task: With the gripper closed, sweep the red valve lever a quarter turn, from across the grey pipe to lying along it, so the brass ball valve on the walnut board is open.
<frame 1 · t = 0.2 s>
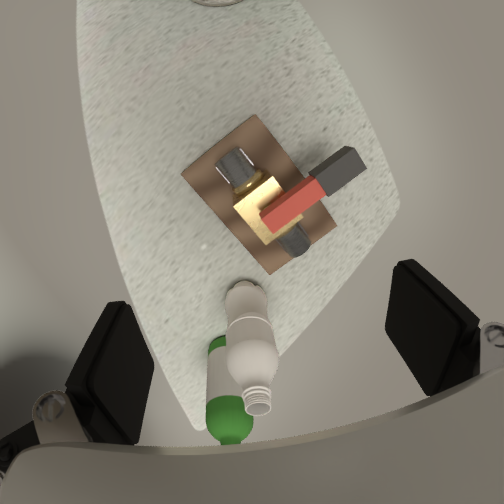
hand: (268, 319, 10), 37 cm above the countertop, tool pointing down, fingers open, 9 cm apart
wine bottle: (227, 347, 58), on the countertop
ball valve: (266, 205, 41), on the mounting board, point 5 cm above the countertop
valve lever: (310, 188, 35), point 10 cm above the countertop, hinge at 0.0°
water bottle: (244, 293, 53), on the countertop
mounting board: (262, 197, 45), on the countertop
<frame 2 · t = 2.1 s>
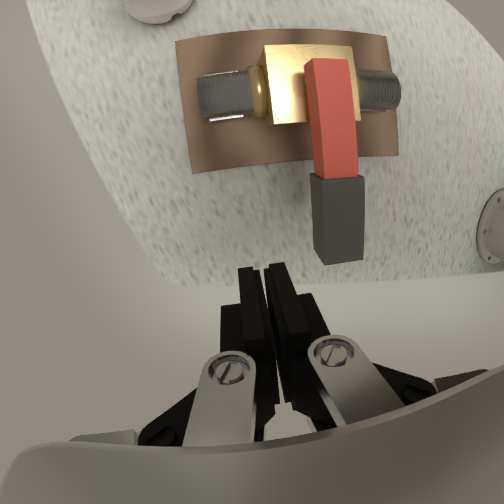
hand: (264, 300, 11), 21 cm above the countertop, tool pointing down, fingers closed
ball valve: (304, 87, 22), on the mounting board, point 5 cm above the countertop
valve lever: (332, 159, 19), point 10 cm above the countertop, hinge at 0.0°
water bottle: (164, 3, 21), on the countertop
mounting board: (293, 93, 26), on the countertop
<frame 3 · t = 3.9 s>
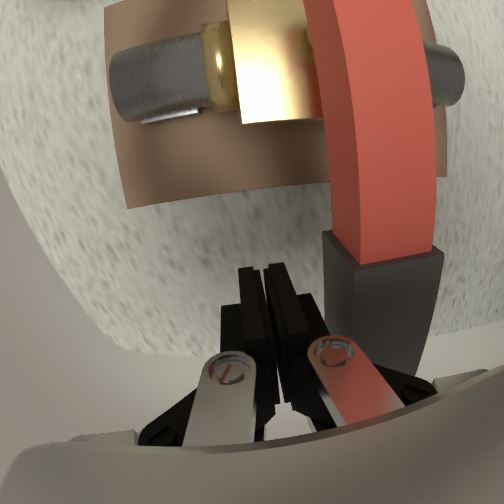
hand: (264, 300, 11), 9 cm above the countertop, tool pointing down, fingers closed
ball valve: (307, 57, 11), on the mounting board, point 5 cm above the countertop
valve lever: (373, 205, 9), point 10 cm above the countertop, hinge at 1.8°, touching gripper
mounting board: (289, 74, 16), on the countertop
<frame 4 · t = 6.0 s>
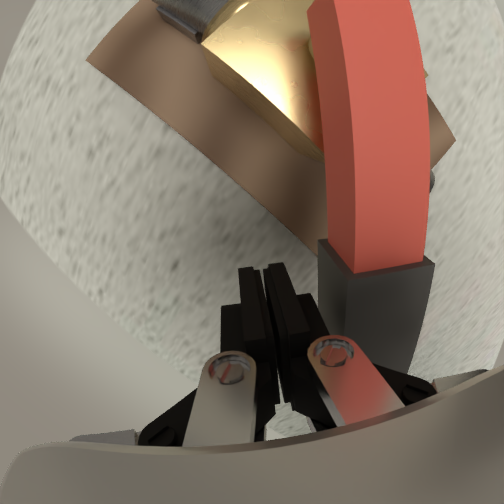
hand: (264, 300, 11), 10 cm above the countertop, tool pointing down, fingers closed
ball valve: (307, 66, 12), on the mounting board, point 5 cm above the countertop
valve lever: (367, 216, 9), point 10 cm above the countertop, hinge at 49.6°, touching gripper
mounting board: (288, 81, 16), on the countertop
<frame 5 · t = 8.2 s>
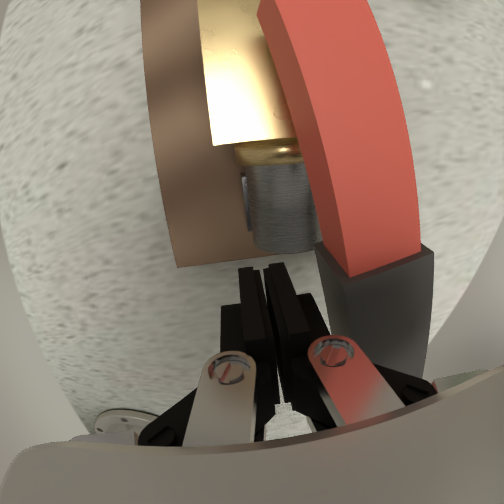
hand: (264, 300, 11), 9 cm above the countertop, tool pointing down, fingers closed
ball valve: (276, 65, 12), on the mounting board, point 5 cm above the countertop
valve lever: (358, 213, 9), point 10 cm above the countertop, hinge at 100.6°, touching gripper
mounting board: (264, 82, 16), on the countertop
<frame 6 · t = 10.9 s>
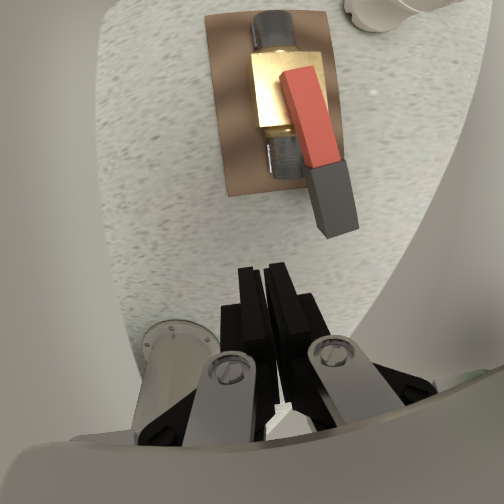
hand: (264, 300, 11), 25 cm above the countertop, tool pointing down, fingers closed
ball valve: (284, 91, 26), on the mounting board, point 5 cm above the countertop
valve lever: (317, 150, 23), point 10 cm above the countertop, hinge at 100.8°
water bottle: (363, 14, 25), on the countertop
mounting board: (277, 96, 30), on the countertop
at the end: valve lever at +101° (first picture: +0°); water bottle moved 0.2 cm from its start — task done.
